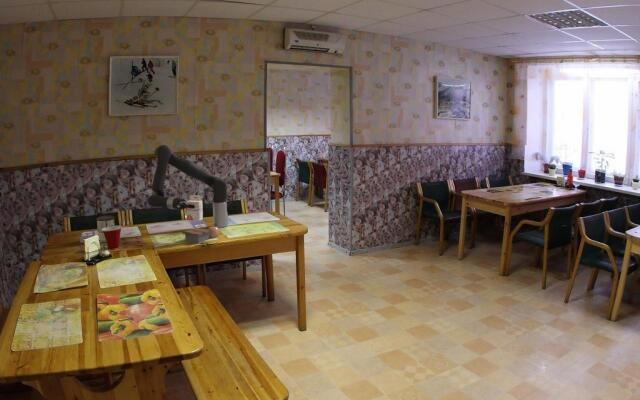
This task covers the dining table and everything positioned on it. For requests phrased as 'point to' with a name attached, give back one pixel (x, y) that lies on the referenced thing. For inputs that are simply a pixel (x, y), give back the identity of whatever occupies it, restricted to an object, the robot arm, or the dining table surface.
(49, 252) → the dining table surface
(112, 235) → the plastic cup
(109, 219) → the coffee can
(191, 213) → the ink cartridge box
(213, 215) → the robot arm
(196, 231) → the display podium
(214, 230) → the pinkish brown round piece
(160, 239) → the dining table surface
